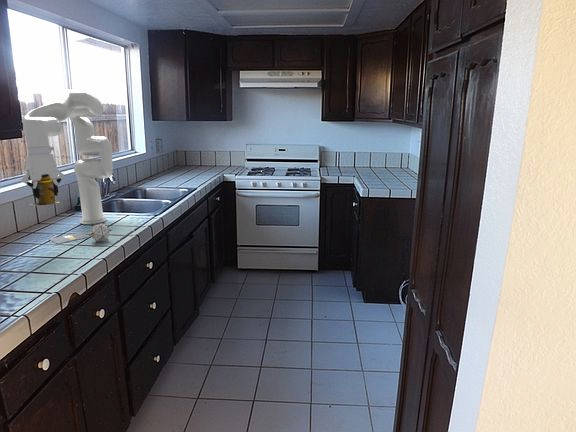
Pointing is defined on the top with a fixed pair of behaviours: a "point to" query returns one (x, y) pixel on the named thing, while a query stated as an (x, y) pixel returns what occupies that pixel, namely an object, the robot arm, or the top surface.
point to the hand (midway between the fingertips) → (46, 196)
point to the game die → (100, 232)
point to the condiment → (45, 191)
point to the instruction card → (69, 238)
